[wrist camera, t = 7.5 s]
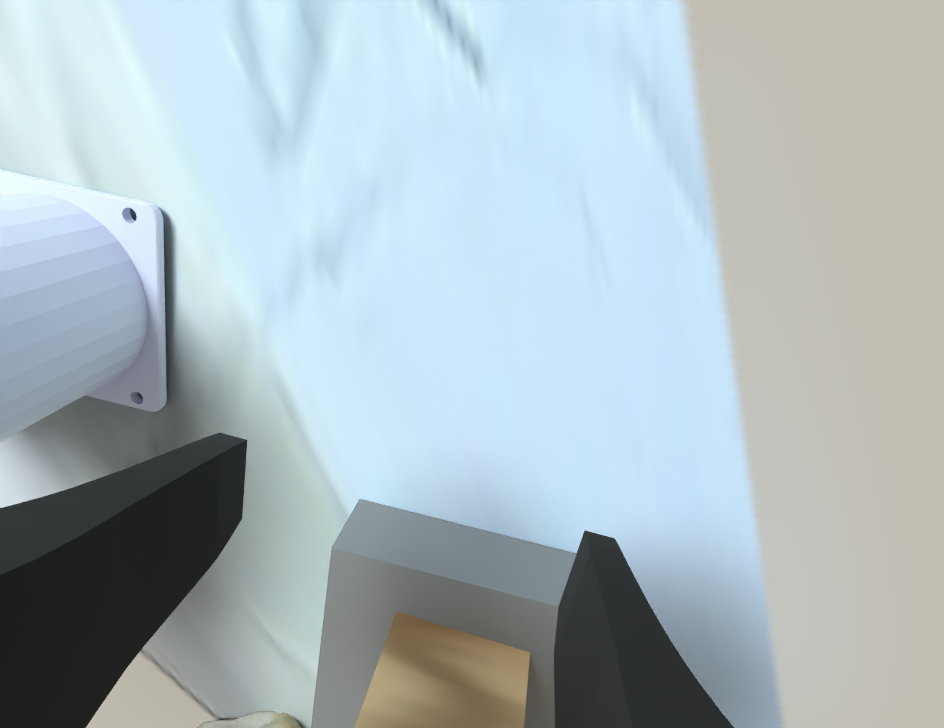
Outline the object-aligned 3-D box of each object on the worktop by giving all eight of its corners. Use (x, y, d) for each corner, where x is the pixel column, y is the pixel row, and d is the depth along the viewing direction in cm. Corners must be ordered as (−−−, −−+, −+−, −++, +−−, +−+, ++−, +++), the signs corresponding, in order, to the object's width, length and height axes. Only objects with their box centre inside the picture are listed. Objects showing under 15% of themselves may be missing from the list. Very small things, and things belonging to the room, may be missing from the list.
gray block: (336, 675, 28) (310, 736, 25) (359, 499, 24) (331, 547, 21) (548, 734, 27) (545, 803, 24) (608, 562, 23) (612, 620, 21)
